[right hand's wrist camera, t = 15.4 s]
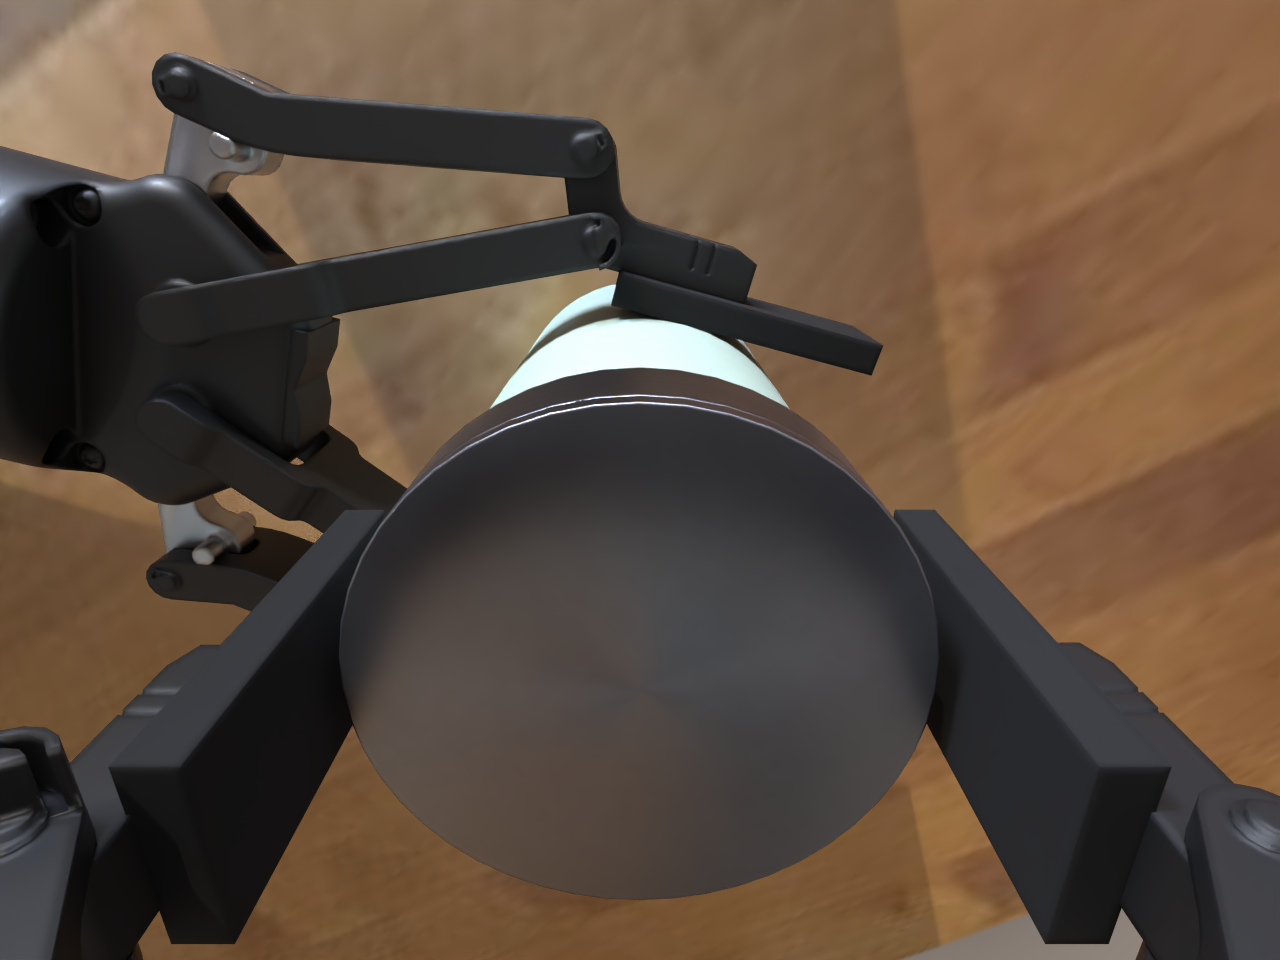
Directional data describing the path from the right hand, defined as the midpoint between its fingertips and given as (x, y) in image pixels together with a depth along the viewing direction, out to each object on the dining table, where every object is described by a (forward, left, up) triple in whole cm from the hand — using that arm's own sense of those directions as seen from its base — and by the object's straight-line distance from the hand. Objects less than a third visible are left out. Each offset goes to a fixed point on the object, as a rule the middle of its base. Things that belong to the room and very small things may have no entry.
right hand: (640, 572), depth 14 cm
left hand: (+2, +4, -6) cm, 8 cm away
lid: (0, 0, +3) cm, 3 cm away
